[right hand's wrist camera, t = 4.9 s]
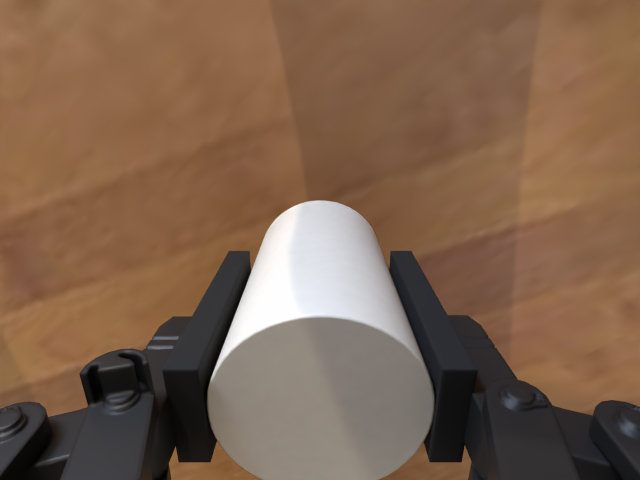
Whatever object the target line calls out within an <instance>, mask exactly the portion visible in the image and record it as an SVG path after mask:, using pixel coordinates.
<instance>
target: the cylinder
mask: <svg viewBox="0 0 640 480" xmlns="http://www.w3.org/2000/svg"><path fill="white" fill-rule="evenodd" d="M434 408H435V395H434V389H433V384H432V381H431V378H430V375H429V372H428V370H427V367H426V365H425V362H424V359H423V357H422V354H421V352H420V349H419V346H418V344H417V341H416V339H415V336H414V333H413V331H412V328H411V326H410V323H409V321H408V318H407V315H406V313H405V310H404V308H403V305H402V302H401V300H400V297H399V295H398V292H397V289H396V287H395V284H394V282H393V279H392V276H391V274H390V271H389V269H388V266H387V263H386V261H385V258H384V256H383V253H382V250H381V248H380V245H379V243H378V240H377V237H376V235H375V233H374V231H373V229H372V227H371V226H370V225H369V223H368V222H367V221H366V220H365V219H364V218H363V217H362V216H361V215H360V214H359V213H357V212H356V211H355V210H353V209H351V208H350V207H347V206H345V205H343V204H340V203H336V202H331V201H309V202H305V203H301V204H298V205H296V206H293V207H292V208H290V209H288V210H286V211H285V212H283V213H282V214H281V215H280V216H279V217H278V218H276V219H275V221H274V222H273V223H272V224H271V226H270V227H269V229H268V231H267V232H266V235H265V237H264V240H263V242H262V245H261V248H260V250H259V253H258V255H257V258H256V261H255V263H254V266H253V269H252V271H251V274H250V277H249V279H248V282H247V284H246V287H245V290H244V292H243V295H242V298H241V300H240V303H239V306H238V308H237V311H236V313H235V316H234V319H233V321H232V324H231V327H230V329H229V332H228V335H227V337H226V340H225V342H224V345H223V348H222V350H221V353H220V356H219V358H218V361H217V364H216V366H215V369H214V371H213V374H212V377H211V379H210V383H209V387H208V391H207V412H208V418H209V422H210V425H211V429H212V431H213V433H214V435H215V438H216V439H217V441H218V442H219V444H220V446H221V447H222V449H223V450H224V451H225V452H226V453H227V454H228V456H229V457H230V458H231V459H232V460H234V461H235V462H236V463H237V464H238V465H239V466H240V467H242V468H243V469H245V470H246V471H248V472H249V473H251V474H252V475H254V476H256V477H258V478H260V479H262V480H379V479H381V478H383V477H386V476H388V475H389V474H391V473H392V472H394V471H395V470H397V469H398V468H400V467H401V466H402V465H403V464H405V463H406V462H407V461H408V460H409V459H410V458H411V457H412V456H413V455H414V454H415V453H416V452H417V450H418V449H419V448H420V446H421V445H422V444H423V442H424V440H425V438H426V436H427V434H428V433H429V430H430V427H431V424H432V421H433V415H434Z"/></svg>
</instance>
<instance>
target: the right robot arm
mask: <svg viewBox="0 0 640 480" xmlns="http://www.w3.org/2000/svg"><path fill="white" fill-rule="evenodd" d="M389 271H390V274H391V276H392V279H393V282H394V284H395V287H396V289H397V292H398V295H399V297H400V300H401V302H402V305H403V308H404V310H405V313H406V315H407V318H408V321H409V323H410V326H411V328H412V331H413V333H414V336H415V339H416V341H417V344H418V346H419V349H420V352H421V354H422V357H423V359H424V362H425V365H426V367H427V370H428V372H429V375H430V378H431V381H432V384H433V389H434V395H435V408H434V415H433V421H432V424H431V427H430V430H429V433H428V434H427V436H426V438H425V440H424V444H425V448H426V451H427V454H428V458H429V461H430V462H462V456H463V451H464V445H465V446H466V449H467V451H468V454H469V456H470V459H471V461H472V463H471V468H470V473H469V478H468V480H640V407H638V406H636V405H633V404H630V403H627V402H621V401H615V400H610V401H603V402H601V403H599V404H598V405H597V406H596V407H595V410H594V413H593V416H592V415H587V414H583V413H579V412H574V411H570V410H566V409H562V408H558V407H555V406H552V404H551V403H550V401H549V399H548V398H547V396H546V395H545V394H543V393H542V392H541V391H540V390H539V389H537V388H536V387H534V386H532V385H530V384H528V383H526V382H524V381H520V380H518V379H517V378H516V376H515V375H514V373H513V372H512V370H511V369H510V368H509V366H508V365H507V363H506V362H505V360H504V359H503V357H502V356H501V354H500V353H499V351H498V350H497V349H496V348H495V347H494V344H493V343H492V341H491V340H490V339H488V335H487V334H486V332H485V331H484V329H483V328H482V327H481V325H480V324H478V323H477V322H475V321H474V320H473V319H471V318H470V317H469V316H467V315H447V314H446V312H445V310H444V308H443V307H442V305H441V303H440V301H439V300H438V298H437V296H436V294H435V292H434V291H433V289H432V287H431V285H430V284H429V282H428V280H427V278H426V277H425V275H424V273H423V271H422V270H421V268H420V266H419V264H418V262H417V261H416V259H415V257H414V255H413V254H412V252H411V251H391V255H390V269H389ZM250 274H251V265H250V251H229V252H228V254H227V256H226V258H225V259H224V261H223V263H222V265H221V266H220V268H219V270H218V272H217V274H216V275H215V277H214V279H213V281H212V282H211V284H210V286H209V288H208V289H207V291H206V293H205V295H204V296H203V298H202V300H201V302H200V304H199V305H198V307H197V309H196V311H195V312H194V314H193V316H192V317H172V318H171V319H169V320H168V321H167V322H165V323H164V324H162V325H161V326H160V327H159V328H158V330H157V331H156V333H155V334H154V336H153V337H152V340H150V342H149V343H148V345H147V346H146V349H144V351H140V350H136V349H120V350H116V351H112V352H108V353H106V354H104V355H101V356H99V357H97V358H95V359H94V360H93V361H91V362H90V363H88V364H87V365H86V366H85V367H84V368H83V370H82V371H81V372H80V378H81V381H82V385H83V388H84V392H85V396H86V399H87V403H88V407H87V408H84V409H81V410H77V411H73V412H69V413H64V414H60V415H56V416H51V417H48V415H47V412H46V409H45V408H44V407H43V406H42V405H41V404H40V403H34V402H23V403H16V404H13V405H10V406H7V407H4V408H1V409H0V480H171V474H170V468H169V461H170V459H171V456H172V454H173V451H174V449H175V446H176V449H177V455H178V460H179V462H211V459H212V455H213V452H214V448H215V445H216V442H217V439H216V438H215V435H214V433H213V431H212V429H211V425H210V422H209V418H208V412H207V391H208V387H209V383H210V379H211V377H212V374H213V371H214V369H215V366H216V364H217V361H218V358H219V356H220V353H221V350H222V348H223V345H224V342H225V340H226V337H227V335H228V332H229V329H230V327H231V324H232V321H233V319H234V316H235V313H236V311H237V308H238V306H239V303H240V300H241V298H242V295H243V292H244V290H245V287H246V284H247V282H248V279H249V277H250Z"/></svg>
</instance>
